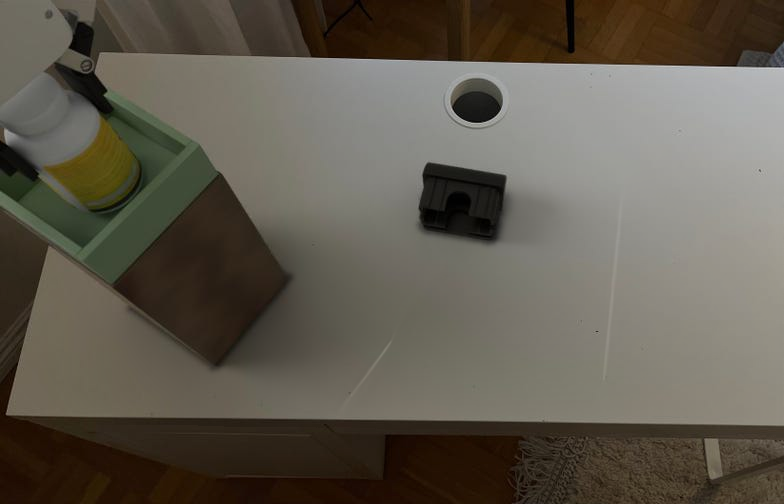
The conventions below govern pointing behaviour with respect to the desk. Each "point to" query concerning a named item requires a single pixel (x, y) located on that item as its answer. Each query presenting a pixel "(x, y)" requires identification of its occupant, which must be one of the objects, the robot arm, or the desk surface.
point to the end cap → (461, 200)
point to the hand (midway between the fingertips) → (60, 135)
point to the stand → (199, 273)
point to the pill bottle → (71, 146)
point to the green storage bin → (136, 218)
